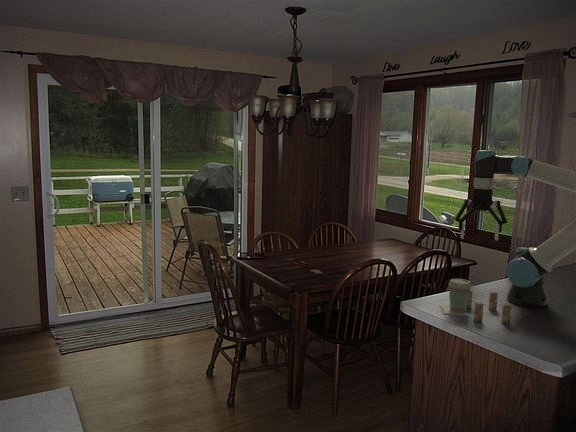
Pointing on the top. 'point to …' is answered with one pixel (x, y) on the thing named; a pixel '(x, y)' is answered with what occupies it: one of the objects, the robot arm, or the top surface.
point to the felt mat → (447, 311)
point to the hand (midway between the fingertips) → (479, 239)
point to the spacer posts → (490, 308)
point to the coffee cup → (459, 294)
